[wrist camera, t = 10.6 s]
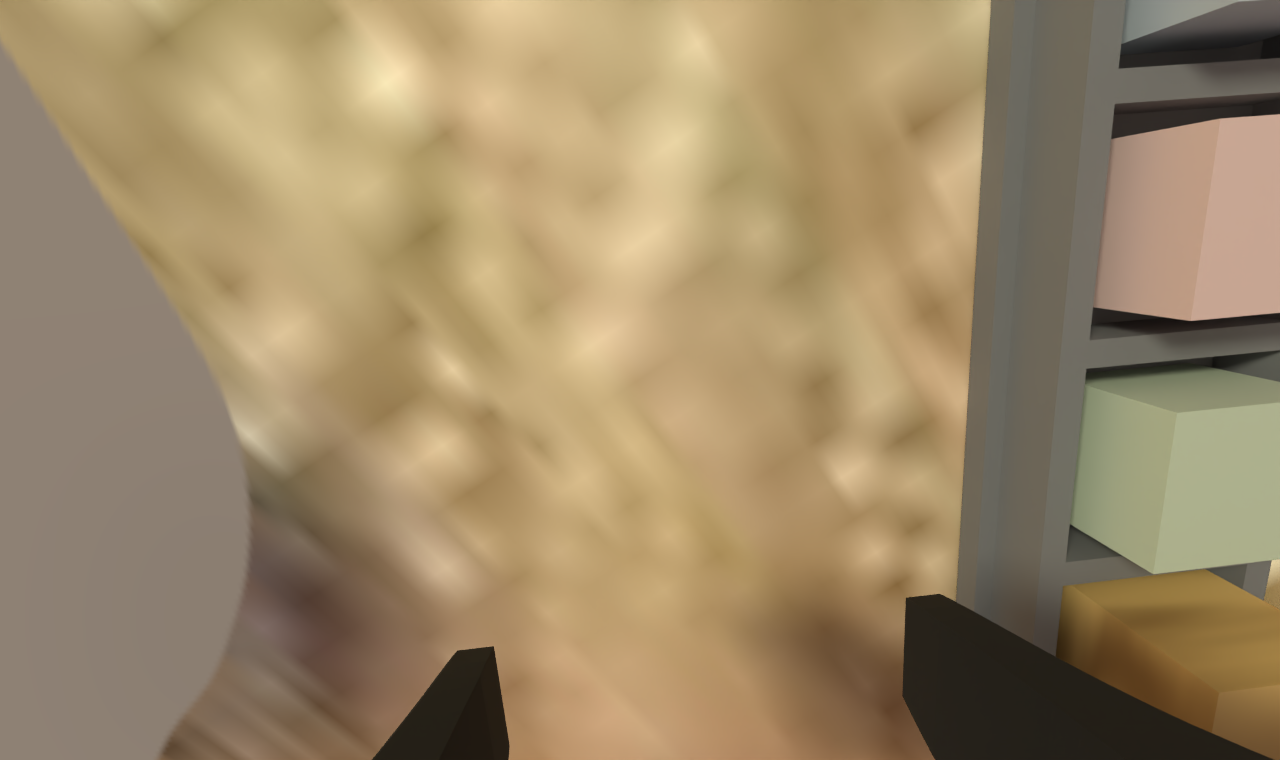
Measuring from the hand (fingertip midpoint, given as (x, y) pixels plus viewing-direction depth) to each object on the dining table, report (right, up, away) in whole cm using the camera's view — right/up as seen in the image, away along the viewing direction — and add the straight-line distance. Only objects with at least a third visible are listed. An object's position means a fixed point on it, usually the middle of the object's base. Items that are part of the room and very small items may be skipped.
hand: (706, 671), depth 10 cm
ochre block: (+15, -3, +11) cm, 18 cm away
